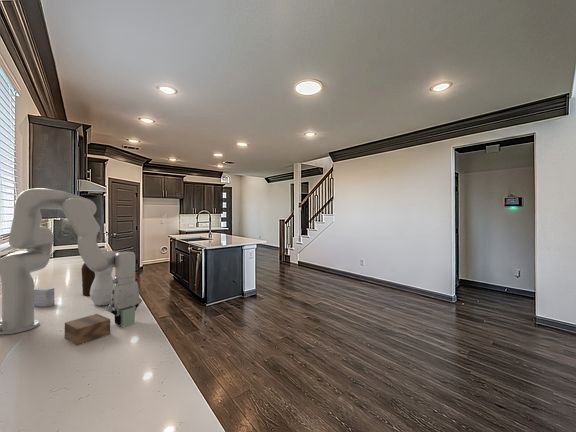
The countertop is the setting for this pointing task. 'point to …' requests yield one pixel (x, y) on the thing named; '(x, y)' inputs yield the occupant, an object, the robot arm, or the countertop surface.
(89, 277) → the olive oil
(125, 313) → the sage block
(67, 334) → the walnut riser
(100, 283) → the white vase
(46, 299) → the medicine box
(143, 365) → the countertop surface
